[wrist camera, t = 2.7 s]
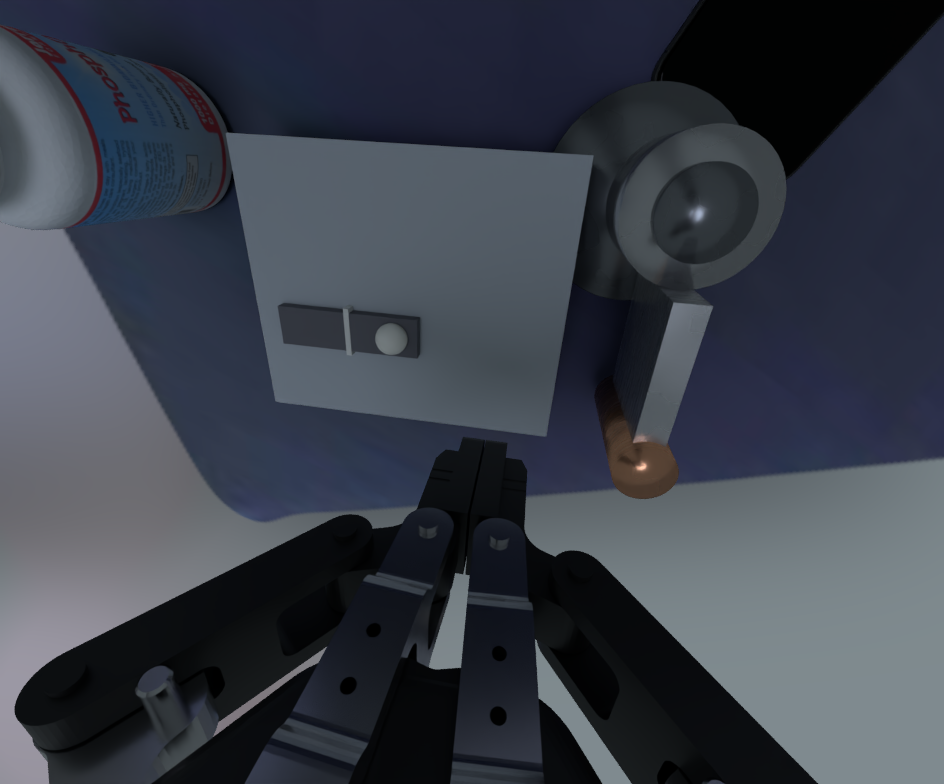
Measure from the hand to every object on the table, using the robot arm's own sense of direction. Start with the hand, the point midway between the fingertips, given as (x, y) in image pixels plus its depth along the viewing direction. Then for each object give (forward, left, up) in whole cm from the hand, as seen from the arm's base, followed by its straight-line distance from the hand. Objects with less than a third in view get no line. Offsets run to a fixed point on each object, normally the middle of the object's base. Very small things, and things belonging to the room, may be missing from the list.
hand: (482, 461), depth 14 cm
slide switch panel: (-3, -5, -10) cm, 12 cm away
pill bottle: (-9, -17, -11) cm, 22 cm away
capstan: (-5, +5, -10) cm, 12 cm away
